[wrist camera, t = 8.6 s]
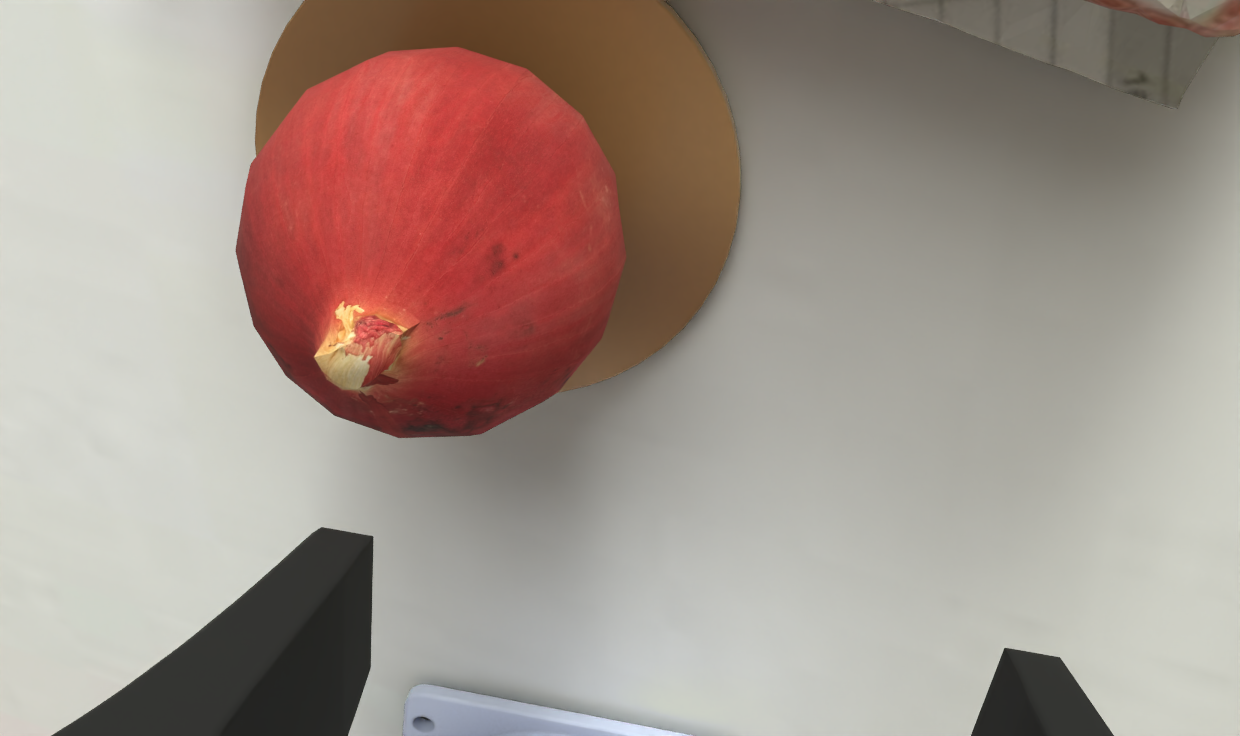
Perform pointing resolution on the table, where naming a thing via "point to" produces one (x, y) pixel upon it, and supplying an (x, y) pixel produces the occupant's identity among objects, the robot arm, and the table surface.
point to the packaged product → (1099, 36)
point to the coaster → (613, 109)
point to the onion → (431, 242)
